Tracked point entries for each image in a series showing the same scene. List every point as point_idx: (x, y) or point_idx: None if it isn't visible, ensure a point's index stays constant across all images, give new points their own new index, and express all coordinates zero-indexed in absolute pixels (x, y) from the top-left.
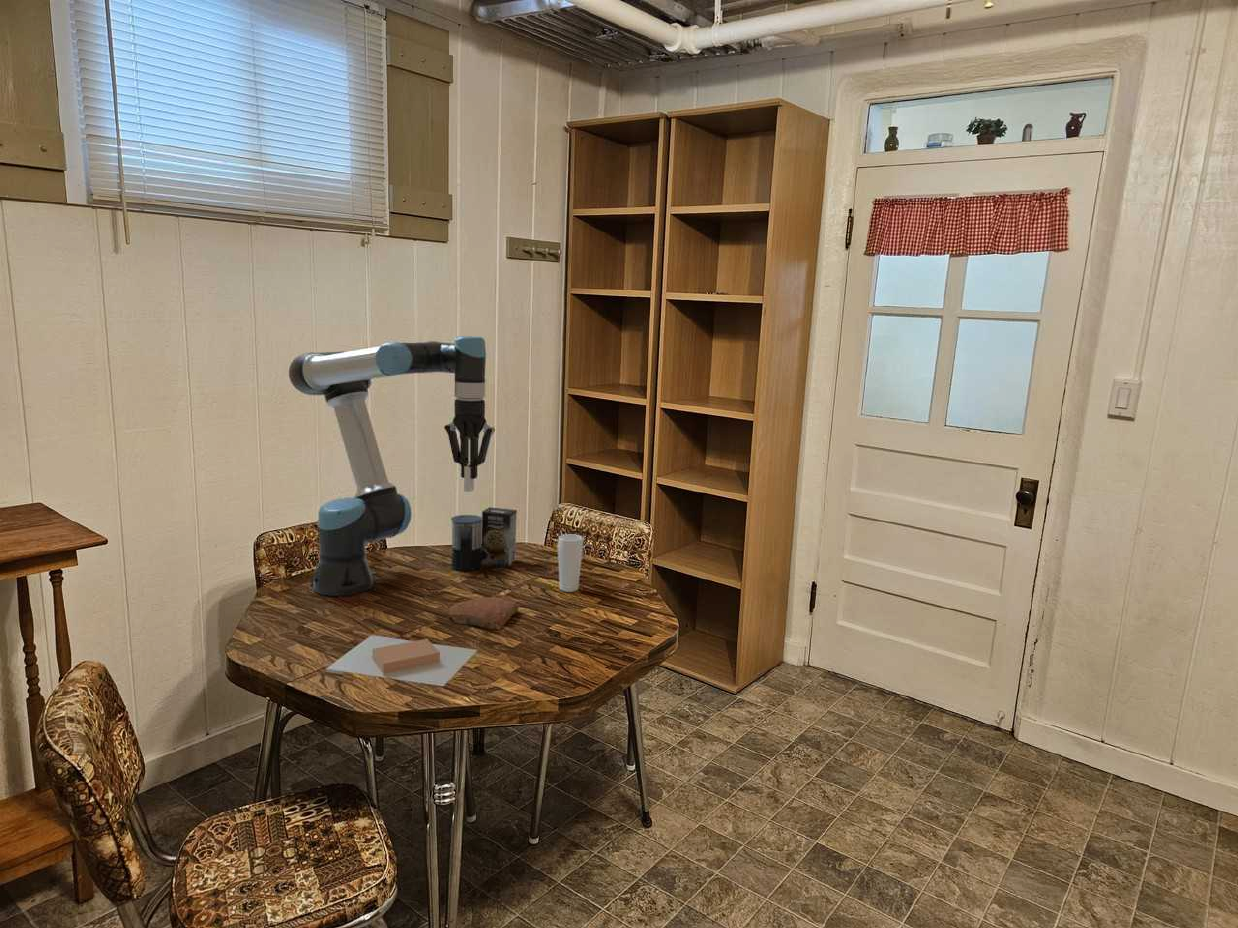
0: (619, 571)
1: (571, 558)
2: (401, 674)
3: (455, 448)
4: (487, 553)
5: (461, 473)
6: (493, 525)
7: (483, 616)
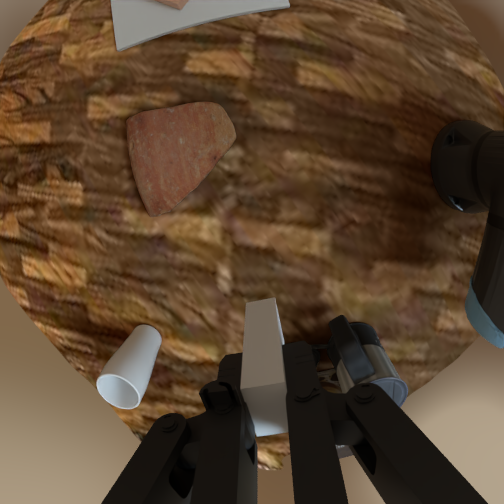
0: (142, 416)
1: (113, 355)
2: None
3: (399, 472)
4: (331, 380)
5: (310, 355)
6: None
7: (148, 114)
